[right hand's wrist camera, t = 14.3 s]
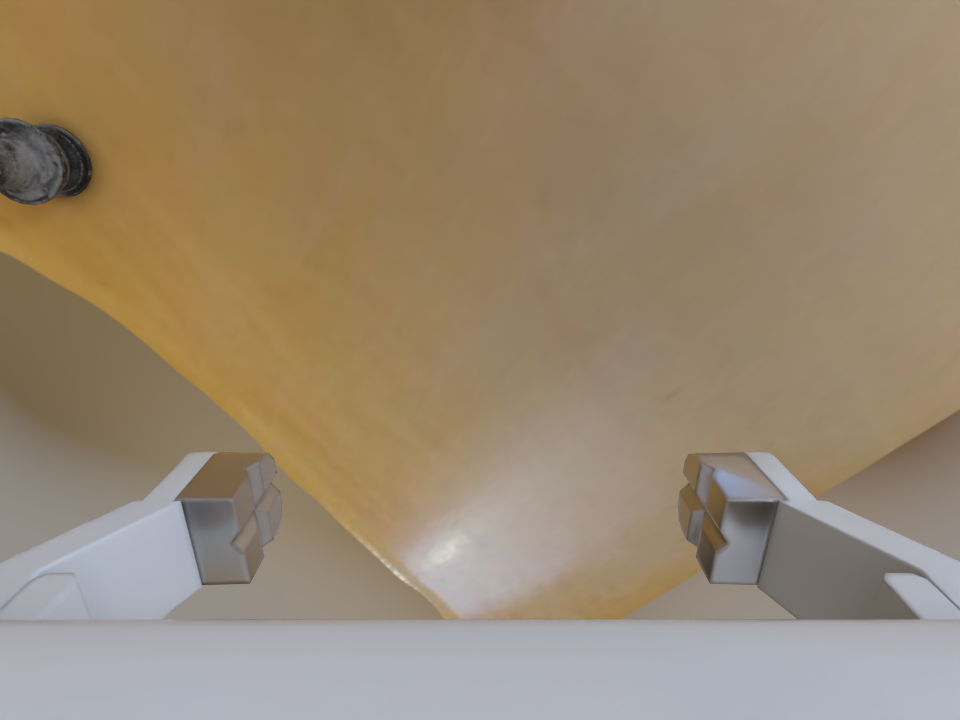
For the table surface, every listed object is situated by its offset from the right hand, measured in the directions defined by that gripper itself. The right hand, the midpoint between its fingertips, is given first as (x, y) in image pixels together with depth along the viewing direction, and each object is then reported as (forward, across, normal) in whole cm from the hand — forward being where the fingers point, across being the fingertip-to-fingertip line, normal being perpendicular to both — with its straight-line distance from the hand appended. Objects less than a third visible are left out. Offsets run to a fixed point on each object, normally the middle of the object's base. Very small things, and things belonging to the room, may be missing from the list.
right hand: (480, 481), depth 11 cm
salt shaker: (+35, -33, +5) cm, 49 cm away
